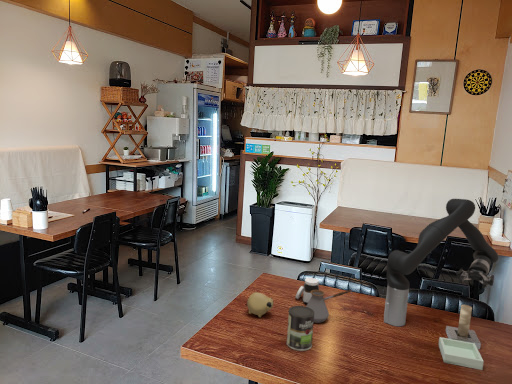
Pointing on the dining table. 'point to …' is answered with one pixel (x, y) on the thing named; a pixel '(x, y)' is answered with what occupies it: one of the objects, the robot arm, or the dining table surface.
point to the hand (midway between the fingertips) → (472, 283)
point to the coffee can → (300, 328)
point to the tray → (460, 353)
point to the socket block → (471, 337)
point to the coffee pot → (320, 305)
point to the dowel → (464, 321)
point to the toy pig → (259, 304)
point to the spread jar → (307, 289)
